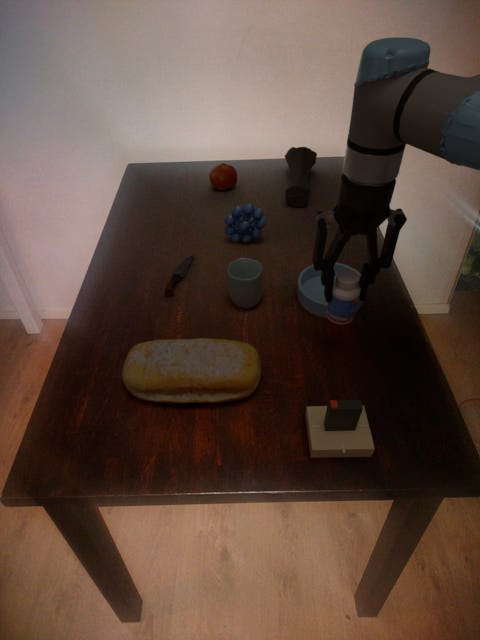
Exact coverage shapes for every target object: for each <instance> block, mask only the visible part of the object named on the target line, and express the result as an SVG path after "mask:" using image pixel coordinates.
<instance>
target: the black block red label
mask: <svg viewBox="0 0 480 640" xmlns="http://www.w3.org/2000/svg"><path fill="white" fill-rule="evenodd" d="M362 405H363V402H362V399H329V400H328V401H327V405H326V406H327V410H326V414H325V419H324V428H325V431H355V430H356V427H357V424H358V421H359V418H360V416H361V413H362V410H363V406H362Z"/></svg>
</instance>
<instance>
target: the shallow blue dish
mask: <svg viewBox="0 0 480 640" xmlns="http://www.w3.org/2000/svg"><path fill="white" fill-rule="evenodd" d="M333 268H334V272H335V278H334V280H335V279H336V275H337V272H338V271H340V270H343V269H350V270H354V271H356V272H357V273H358V274H359V277H360V276H361V272H359V271H358V270H357V269H355V268H354V267H351V266H350V265H347V264H345V263H340V262H336V263H335V265H334V267H333ZM321 272H322V271H321V270H319V271H315V270H314V266H313V264H311V265H309V266H307V267H305V268H304V269H303V270H302V271H301V272H300V273H299V276H298V278H297V282H296V283H297V284H296V299H297V301H298V303H299V305H300V306H301V307H302V308H303V309H304V310H305V311H307V312H308V313H310V314H312V315H313V316H316V317H320V318H324V319H328V318H327V316H326V309H327V303H328V302H326V299H325V295H324V289H325V286H322V283H321ZM359 281H360V278H359ZM363 304H364V301H360V299H359V300H358V304H357V308H356V312H355V314H356V313H357V312H358V311H359V310H360V309H361V308H362V306H363Z"/></svg>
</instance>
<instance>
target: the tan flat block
mask: <svg viewBox="0 0 480 640" xmlns="http://www.w3.org/2000/svg"><path fill="white" fill-rule="evenodd" d="M327 406H328V405H314V406H313V405H310V406H306V408H305V415H304V416H305V424H306V432H307V440H308V448H309V455H310V456H309V457H310V459H315V458H318V459H320V458H321V459H322V458H326V459H327V458H372V456H373V454H374V452H375V444H374V440H373V436H372V432H371V428H370V424H369V420H368V415H367V412H366V407H365V404H364V405H363V404H362V406H363V410H362V413H361V416H360V418H359V421H358V424H357V427H356V430H355V431H325V428H324V419H325V414H326V410H327Z"/></svg>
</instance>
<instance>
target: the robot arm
mask: <svg viewBox="0 0 480 640" xmlns="http://www.w3.org/2000/svg"><path fill="white" fill-rule="evenodd" d="M431 51H432V50H431V46H430V44H429V43H428V42H427V41H423V40H422V39H419V38H415V37H404V36H403V37H402V36H401V37H384V38H378V39H375V40H372V41H371V42H369V43H368V44H367V45H365V47H364V48H363V50H362V52H361V56H360V60H359V64H358V69H357V72H356V73H357V74H356V78H355V82H354V84H353V87H354V88H353V97H352V106H351V114H350V120H349V121H350V122H349V127H348V133H347V140H346V145H345V146H346V147H345V152H344V157H343V159H344V160H343V164H342V174H341V176H340V183H339V191H338V195H337V201H336V204H335V205H334V207H333V208H332V210H329V211H328V212H323V211H321V210H319V211H316V213H315V219H316V224H317V226H316V234H315V239H314V245H313V246H314V247H313V251H312V252H313V253H312V258H311V261H312V265H313V266H314V270H315V271H319V270H321V271H322V272H321V283H322V286H325V289H324V295H325V299H326V302H330V301H331V295H332V289H333V284H334V278H335V272H334V268H333V267H334V265H335V263H337V261H338V259H339V258H340V256H341V254H342V252H343V250H344V248H345V246H346V244H347V243H349V241H350V239H351V238H352V236H357V235H360V236H365V240H366V249H367V251H366V252H367V259H368V263H367V262H364V263H363V265H362V269H361V272H360V274H361V276H360V281H359V286H360V289H361V291H360V296H359V299H360V301H363V302H365V300H366V297H367V292H368V288H369V285H374V283H375V282H376V277H377V276H378V275H379V274H380V273H381V270H380V269H385V270H386V269H390V268H391V266H392V262H393V258H394V255H395V252H396V248H397V244H398V240H399V236H400V232H401V230H402V228H403V227H404V225H405V224H406V222H407V220H408V218H407V216H406V214H405V212H404V211H403V209H402V208H396V209H393V208H391V204H392V199H393V197H394V196H393V195H394V191H395V189H396V185H397V178H398V176H399V174H400V170H401V166H402V161H403V157H404V153H405V149H406V145H408V146H410V147H413V148H416V149H418V150H421V151H423V152H425V153H428V154H430V155H433V156H435V157H437V158H440V159H442V160H444V161H446V162H449V164H451V165H456V166H459V167H461V166H462V167H464V168H469V169H471V170H472V169H473V170H476V171H480V73H479V74H476V75H473V76H462V75H456V74H452V73H451V74H450V73H445V72H441V71H437V70H435V69H433V68H429V65H430V58H431V57H430V56H431ZM386 220H387V226H386V229H385V234H384V237H383V242H382V247H381V251H380V256H379V251H378V250H379V249H378V230H377V229H378V228H379V227H380V226H381V225H382V224H383V223H384V222H385V221H386ZM333 221H335V222H336V223H337V225H338V226H337V228H336V233H335V235H334V237H333V239H332V241H331V242H330V244H329V247H328V249H327V251H326V253H325V249H326V244H327V238H328V229H330V227H331V225H332V223H333ZM324 254H325V255H324Z"/></svg>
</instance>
